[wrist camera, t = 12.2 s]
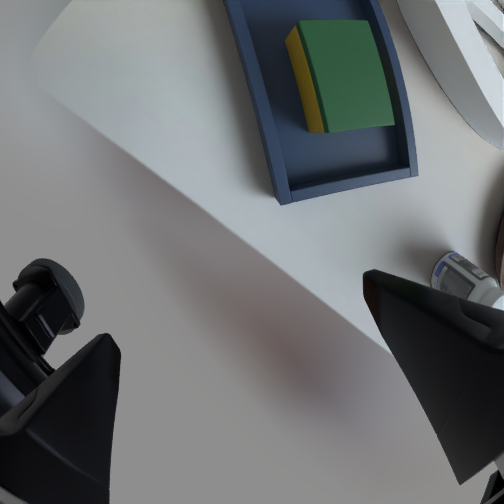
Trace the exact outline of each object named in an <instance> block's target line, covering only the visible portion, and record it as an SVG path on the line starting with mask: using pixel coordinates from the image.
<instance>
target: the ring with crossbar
mask: <svg viewBox="0 0 504 504" xmlns="http://www.w3.org/2000/svg"><path fill="white" fill-rule="evenodd" d="M497 1H498V2H499V3H500V5H501V6H502V7H503V9H504V0H497ZM397 3H398V6H399V8H400V10H401V13H402V15H403V17H404V20H405V22H406V24H407V26H408V28H409V30H410V32H411V34H412V36H413V38H414V40H415V42H416V44H417V46H418V48H419V50H420V52H421V53H422V55H423V57H424V59H425V61H426V62H427V64H428V66H429V68H430V69H431V71H432V73H433V74H434V76H435V78H436V79H437V81H438V83H439V84H440V86H441V87H442V89H443V90H444V92H445V94H446V95H447V96H448V98H449V99H450V101H451V102H452V104H453V105H454V106H455V108H456V109H457V111H458V112H459V113H460V114H461V116H462V117H463V118H464V119H465V121H466V122H467V123H468V124H469V125H470V126H471V127H472V128H473V129H474V130H475V131H476V132H477V133H478V134H479V135H480V136H481V137H482V138H483V139H485V140H486V141H487V142H489V143H490V144H492V145H494V146H496V147H498V148H501V149H504V79H503V77H502V75H501V74H500V72H499V70H498V68H497V66H496V65H495V63H494V61H493V59H492V57H491V55H490V53H489V51H488V49H487V47H486V45H485V44H484V42H483V40H482V38H481V36H480V34H479V31H478V29H477V27H476V25H475V23H474V21H475V22H476V23H478V24H479V25H480V26H481V27H482V28H483V29H484V30H485V31H486V32H487V33H488V34H489V35H490V36H491V37H492V38H493V39H494V40H495V41H496V42H497V43H498V44H499V45H500V46H501V47H502V48H503V49H504V14H503V13H502V12H501V11H500V10H499V9H498V8H497V7H496V6H495V5H494V4H493V3H492V2H491V1H490V0H397ZM473 20H474V21H473Z"/></svg>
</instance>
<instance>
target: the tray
mask: <svg viewBox="0 0 504 504" xmlns="http://www.w3.org/2000/svg"><path fill="white" fill-rule="evenodd" d="M223 2H224V5H225V8H226V11H227V15H228V18H229V21H230V25H231V28H232V31H233V35H234V38H235V41H236V45H237V48H238V52H239V55H240V59H241V62H242V66H243V70H244V73H245V77H246V80H247V84H248V88H249V92H250V95H251V99H252V103H253V107H254V111H255V114H256V118H257V122H258V126H259V130H260V134H261V138H262V142H263V146H264V150H265V155H266V159H267V163H268V167H269V171H270V176H271V180H272V184H273V189H274V193H275V197H276V200H277V201H278V202H279V204H280V205H285V204H289V203H292V202H297V201H301V200H306V199H310V198H314V197H319V196H323V195H327V194H332V193H336V192H341V191H345V190H350V189H355V188H359V187H364V186H369V185H374V184H379V183H384V182H389V181H394V180H399V179H404V178H409V177H415V176H418V164H417V154H416V146H415V138H414V131H413V124H412V118H411V112H410V107H409V102H408V97H407V92H406V88H405V83H404V79H403V75H402V71H401V67H400V63H399V60H398V56H397V53H396V49H395V46H394V43H393V40H392V37H391V34H390V31H389V28H388V25H387V22H386V19H385V17H384V14H383V12H382V9H381V6H380V4H379V2H378V0H223ZM320 19H346V20H367V21H368V23H369V26H370V29H371V32H372V35H373V38H374V41H375V44H376V47H377V50H378V54H379V57H380V61H381V64H382V68H383V72H384V75H385V79H386V84H387V88H388V92H389V97H390V101H391V106H392V111H393V117H394V122H395V125H390V126H380V127H371V128H363V129H355V130H348V131H341V132H335V133H309V130H308V126H307V122H306V117H305V113H304V109H303V105H302V101H301V97H300V93H299V89H298V85H297V82H296V78H295V74H294V71H293V67H292V64H291V60H290V57H289V53H288V50H287V47H286V43H285V40H286V38H287V37H288V35H289V34H290V32H291V31H292V29H293V28H294V26H295V25H296V23H297V22H298V21H299V20H320Z"/></svg>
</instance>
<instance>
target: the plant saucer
mask: <svg viewBox="0 0 504 504" xmlns="http://www.w3.org/2000/svg"><path fill="white" fill-rule="evenodd" d="M495 264H496V273H497V278H498V282H499V286H500V289H501V290H502V291H503V292H504V215H503V218H502V221H501V225H500V229H499V233H498V238H497V244H496V254H495Z"/></svg>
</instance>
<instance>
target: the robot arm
mask: <svg viewBox="0 0 504 504" xmlns="http://www.w3.org/2000/svg"><path fill="white" fill-rule="evenodd" d="M47 273H48V274H49V275H48V274H47ZM13 287H14V289H15V291H16V293H15V294H14V296H12V298H11V299H10V300H9V301H8V302H7V303H6V304H5V305H4V306H3V304H2V303H1V301H0V504H109V497H110V496H109V495H110V494H109V492H110V490H109V488H110V487H109V486H110V465H111V451H112V440H113V429H114V421H115V412H116V405H117V398H118V391H119V376H120V362H121V352H120V349H119V347H118V346H117V344H116V343H115V341H114V340H113V338H112V337H111V335H110V334H108V333H104V334H99V335H97V336H96V337H95V338H94V339H93V340H91V341H90V342H89V343H88V344H86V345H85V346H84V347H83V348H82V349H80V350H79V351H78V352H77V353H76V354H75V355H73V356H72V357H71V358H70V359H69V360H68V361H66V362H65V363H64V364H63V365H62V366H61V367H59V368H58V369H57V370H55V369H54V368H52V367H51V366H50V365H49V364H48V363H47V362H46V360H45V359H44V358H43V356H44V355H45V353H46V352H47V350H48V348H49V347H50V345H51V344H52V342H53V341H54V339H55V338H56V337H57V335H58V333H59V332H60V331H64V330H70V329H76V328H78V327H79V325H80V321H79V319H78V318H77V316H76V314H75V313H74V311H73V309H72V307H71V306H70V304H69V302H68V300H67V299H66V297H65V295H64V293H63V291H62V289H61V288H60V286H59V284H58V282H57V280H56V278H55V276H54V274H53V272H52V270H51V269H49V268H46V269H43V270H41V271H38V272H35V273H33V274H30V275H28V276H25V277H22V278H20V279H17V280H15V281H14V282H13ZM363 295H364V299H365V301H366V303H367V305H368V307H369V310H370V312H371V314H372V316H373V318H374V320H375V322H376V325H377V327H378V329H379V331H380V333H381V335H382V337H383V339H384V340H385V342H386V344H387V345H388V347H389V349H390V350H391V352H392V354H393V355H394V357H395V359H396V361H397V362H398V364H399V366H400V367H401V369H402V371H403V373H404V374H405V376H406V378H407V380H408V382H409V383H410V385H411V387H412V389H413V391H414V392H415V394H416V396H417V398H418V400H419V402H420V404H421V405H422V407H423V409H424V411H425V413H426V415H427V417H428V419H429V421H430V423H431V425H432V427H433V429H434V431H435V433H436V434H437V437H438V439H439V441H440V443H441V446H442V448H443V450H444V452H445V454H446V456H447V458H448V461H449V463H450V465H451V467H452V469H453V472H454V474H455V476H456V479H457V481H458V483H459V485H461V484H463V483H464V482H466V481H467V480H469V479H470V478H472V477H473V476H474V475H476V474H477V473H479V472H480V471H481V470H483V469H484V468H485V467H486V466H488V465H489V464H490V463H492V462H493V461H495V463H496V465H497V467H498V470H497V471H496V472H495V473H493V474H492V475H491V476H490V478H489V481H488V484H487V487H486V490H485V493H484V496H483V498H482V500H481V503H480V504H504V310H501V309H497V308H493V307H489V306H486V305H482V304H479V303H476V302H473V301H470V300H467V299H464V298H461V297H459V298H458V296H455V295H452V294H449V293H446V292H443V291H440V290H437V289H434V288H431V287H428V286H425V285H422V284H419V283H416V282H413V281H410V280H407V279H404V278H401V277H398V276H395V275H392V274H388V273H385V272H382V271H379V270H376V269H373V270H369V271H366V272H364V274H363Z"/></svg>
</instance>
